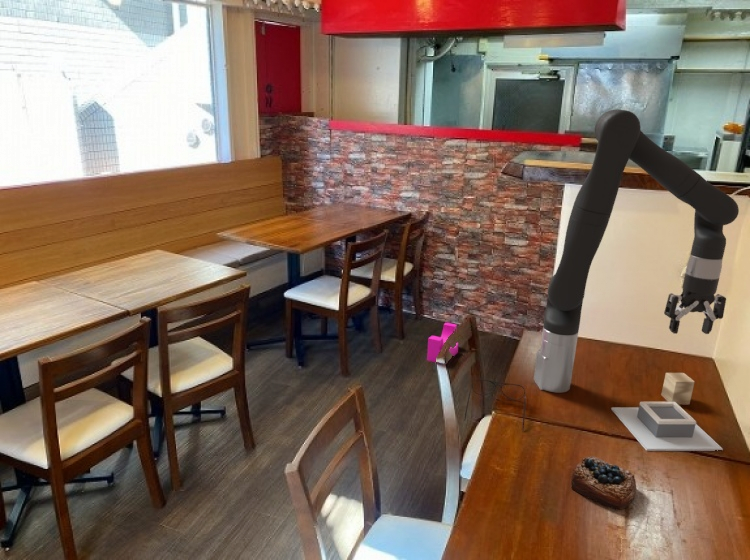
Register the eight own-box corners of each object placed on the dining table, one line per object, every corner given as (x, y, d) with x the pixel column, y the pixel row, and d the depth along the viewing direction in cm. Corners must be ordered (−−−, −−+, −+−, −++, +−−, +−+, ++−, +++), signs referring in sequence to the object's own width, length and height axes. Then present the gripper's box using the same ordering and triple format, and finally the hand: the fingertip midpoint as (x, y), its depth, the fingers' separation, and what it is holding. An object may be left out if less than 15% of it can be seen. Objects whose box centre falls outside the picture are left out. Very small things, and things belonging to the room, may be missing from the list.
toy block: (446, 365, 165) (447, 342, 163) (426, 360, 168) (428, 338, 166) (462, 347, 178) (464, 326, 175) (444, 343, 181) (445, 322, 178)
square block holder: (646, 450, 126) (650, 432, 124) (611, 409, 143) (614, 392, 141) (722, 450, 126) (727, 432, 125) (678, 409, 144) (682, 392, 142)
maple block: (671, 404, 146) (676, 381, 144) (661, 395, 151) (665, 372, 149) (689, 405, 146) (694, 381, 144) (678, 395, 151) (683, 372, 149)
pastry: (583, 465, 120) (586, 442, 119) (640, 489, 113) (645, 465, 111) (564, 490, 112) (568, 466, 110) (625, 517, 105) (630, 492, 103)
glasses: (524, 401, 146) (526, 385, 144) (522, 436, 132) (524, 419, 130) (470, 392, 149) (471, 377, 147) (463, 426, 136) (464, 409, 134)
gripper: (683, 277, 134) (671, 338, 139) (739, 278, 134) (725, 338, 139) (666, 268, 141) (655, 326, 146) (720, 269, 141) (706, 327, 146)
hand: (689, 332), depth 142 cm, fingers open, 8 cm apart
